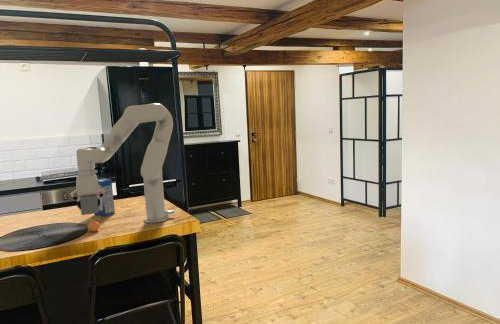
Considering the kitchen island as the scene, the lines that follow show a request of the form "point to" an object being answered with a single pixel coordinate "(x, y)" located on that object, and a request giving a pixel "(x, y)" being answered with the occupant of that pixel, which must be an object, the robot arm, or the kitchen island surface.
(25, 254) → the kitchen island surface
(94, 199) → the gray cube
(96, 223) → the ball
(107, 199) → the milk carton
